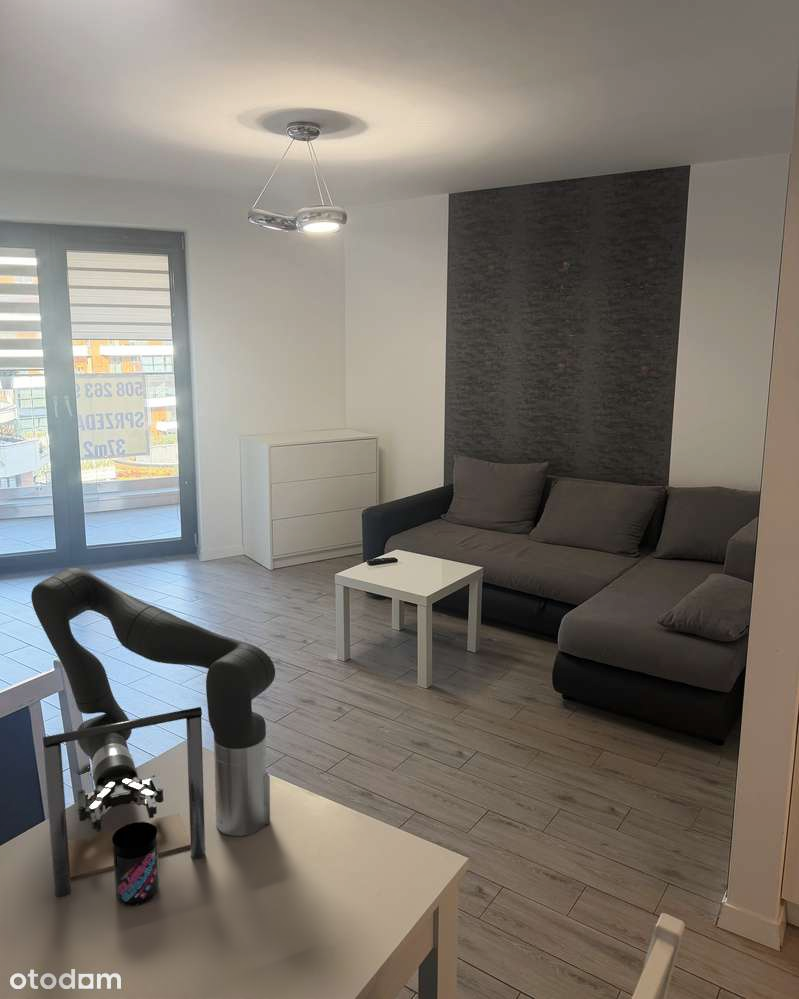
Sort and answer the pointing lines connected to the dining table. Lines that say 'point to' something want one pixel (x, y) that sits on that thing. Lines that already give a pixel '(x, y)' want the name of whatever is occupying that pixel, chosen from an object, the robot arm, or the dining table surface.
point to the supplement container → (136, 863)
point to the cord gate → (54, 741)
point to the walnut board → (98, 848)
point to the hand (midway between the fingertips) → (125, 819)
